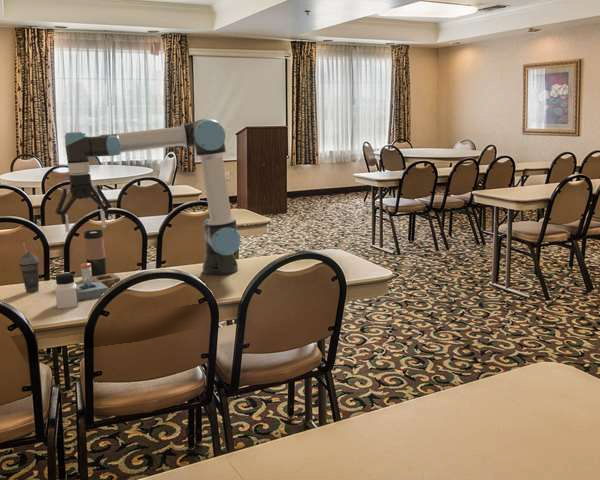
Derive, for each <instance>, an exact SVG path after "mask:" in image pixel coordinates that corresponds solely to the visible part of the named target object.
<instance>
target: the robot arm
mask: <svg viewBox="0 0 600 480" xmlns="http://www.w3.org/2000/svg"><path fill="white" fill-rule="evenodd" d="M225 141H226V132H225V128H224V127H223V125H222V124H221V123H220V122H219V121H217V120H215V119H213V118H204V119H203V118H202V119H198V120H196V121H192V122H187V123H181V124H180V126H174V127H164V128H157V129H156V128H155V129H147V130H139V131H129V132H120V133H119V132H118V133H112V134H100V135H97V136H87V135H86V132H85V131H72V132H71V131H70V132H67V133H65V135H64V143H65V145H64V146H65V152H66V154H65V155H66V159H67V160H66V161H67V169H68V174H70V175H69V178H68V179H69V185H70V187H69V188H64V187H63V188H61V196H60V199H59V201H58V203H57V206H56V208H55V212H54V213H55V214H56V215H59V216H60V218H61V223H62V224H63V225H64V227H65V232H66V233H68V234H69V233H70V223H69V216H68V214H67V213H68V211H69V210H70V208H71V207H72V206H73V204H74V202H75V201H76V200H82V199H88V198H90V199H91V200H92V201H93V202H94V203H95V204H96V205H97V206H98V207H100V208H101V209H100V220H101V221H100V222H101V227H102V228H103V229H105V228H106V229H107V223H106V219H108V209H111V208H112V204H111V203H110V202H109V200H108V198H107V197H106V196H105V193H104V192H103V191H102V188H101V185H100V184H96V185H92V179H91V178H92V177H91V173H90V172H91V169H90V161H89V158H93V157H94V158H95V157H97V158H98V157H113V156H120V155H121V154H122V153H128V152H135V151H136V152H137V151H145V150H154V149H162V148H171V147H178V146H179V147H182V146H183V147H184V148H194V149H195V156H196V157H198V158H199V159H200V162H201V168H202V175H203V180H204V187H205V194H206V200H207V207H208V208H207V209H208V212H209V213H208V214H209V218H207V219H205V220H204V221H203V232H204V233H203V234H204V246H205V247H204V250H205V255H204V258H203V259H204V260H203V264H202V273H203V274H206V275H210V276H211V275H212V276H214V275H215V276H216V275H217V276H222V275H230V274H233V273H236V272H237V271H238V270H239V264H238V262H237V260H236V256H235V255H234V253H235V252H237V251H238V249H239V248H240V246H241V238H242V237H241V235H240V232H239V231H238V226H237V219H236V218H235V217H234V216H233V215H232V212H231V204H230V199H229V198H230V197H229V191H228V184H227V177H226V171H225V163H224V158H223V157H224V155H225V154H226V152H227V150H226V146H225V143H226V142H225ZM93 191H95V192H96V193H97V195H99V198H100V199H101V200H102V202H103V203H102V202H101V201H100V200H99V199H98V198H97V197H96V196H95V195H94V194H93V193H92V192H93ZM69 193H70V194H71V196H70V198H69V199H68V201H67V203H66V204H65V201H66V198H67V196H68V195H69ZM64 204H65V206H64ZM63 206H64V207H63Z"/></svg>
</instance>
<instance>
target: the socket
mask: <svg viewBox="0 0 600 480" xmlns="http://www.w3.org/2000/svg"><path fill="white" fill-rule="evenodd" d="M76 286H77V295H78V302H79V301H83V300H88V299H89V300H90V299H95V298H101V297H102V296H101V295H102V294H103V293H105V292H106V291H107V290H108V291H109V287H107V286H105V285H104V284H103V283H101V282H99V281H98V282H93V288H89V289H84V290H83V283H81V284H76ZM100 296H101V297H100Z"/></svg>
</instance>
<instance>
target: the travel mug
mask: <svg viewBox="0 0 600 480" xmlns="http://www.w3.org/2000/svg"><path fill="white" fill-rule="evenodd" d="M83 237H84V248H85V257H86V258H85V259H86V263H91V271H92V277H94V276H100V275H106V274H107V264H106V263H107V262H106V251H105V243H104V233H103V230H102V229H101V230H100V229H91V230H86V231H84V232H83Z"/></svg>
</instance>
